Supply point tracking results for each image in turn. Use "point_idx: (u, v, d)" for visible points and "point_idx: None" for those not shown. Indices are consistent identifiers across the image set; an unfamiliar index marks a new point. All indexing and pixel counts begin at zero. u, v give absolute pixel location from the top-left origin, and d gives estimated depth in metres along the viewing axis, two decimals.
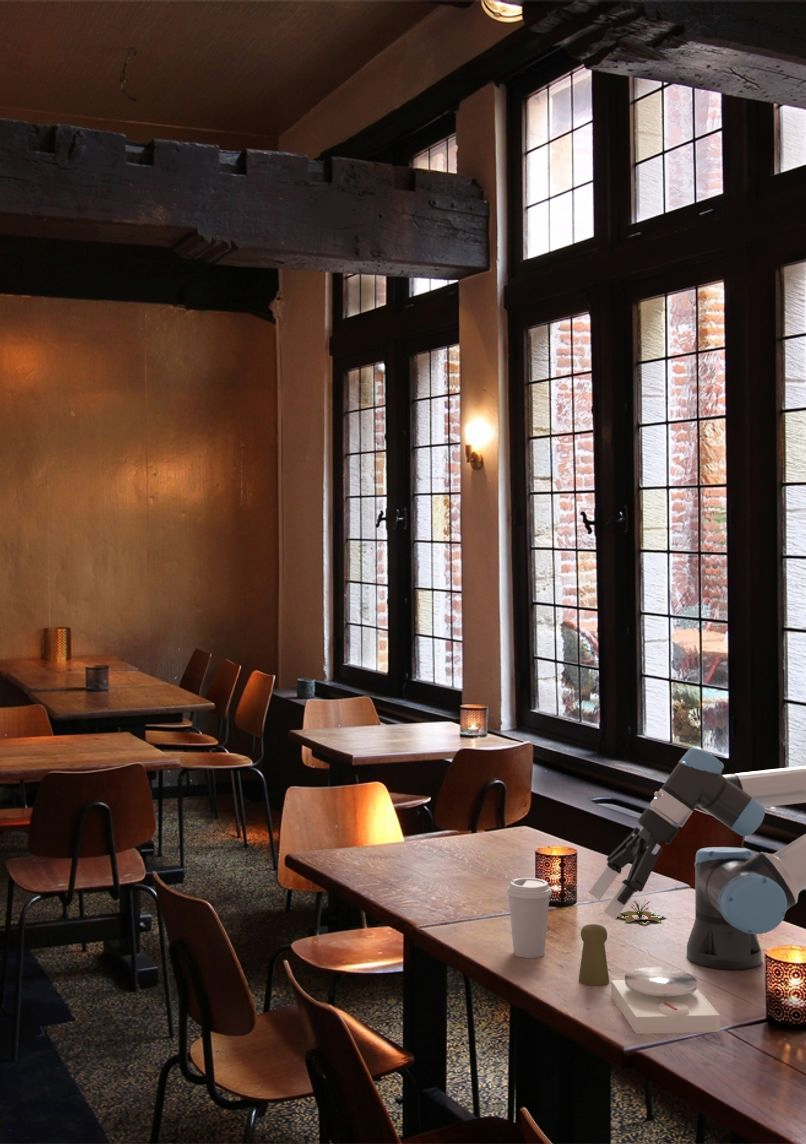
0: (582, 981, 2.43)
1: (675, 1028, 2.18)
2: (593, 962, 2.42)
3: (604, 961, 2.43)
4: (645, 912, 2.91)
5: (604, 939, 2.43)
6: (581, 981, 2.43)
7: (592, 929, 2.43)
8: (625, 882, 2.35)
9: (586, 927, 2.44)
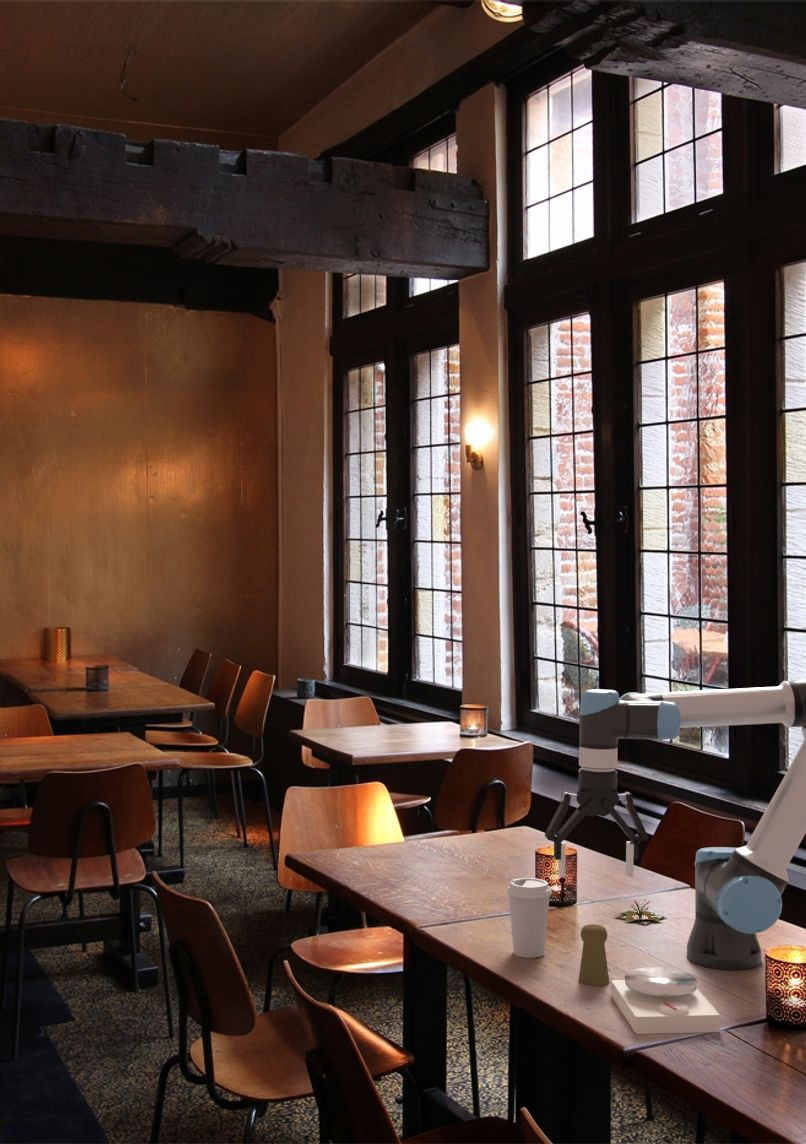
0: (582, 981, 2.43)
1: (675, 1028, 2.18)
2: (593, 962, 2.42)
3: (604, 961, 2.43)
4: (645, 912, 2.91)
5: (604, 939, 2.43)
6: (581, 981, 2.43)
7: (592, 929, 2.43)
8: None
9: (586, 927, 2.44)
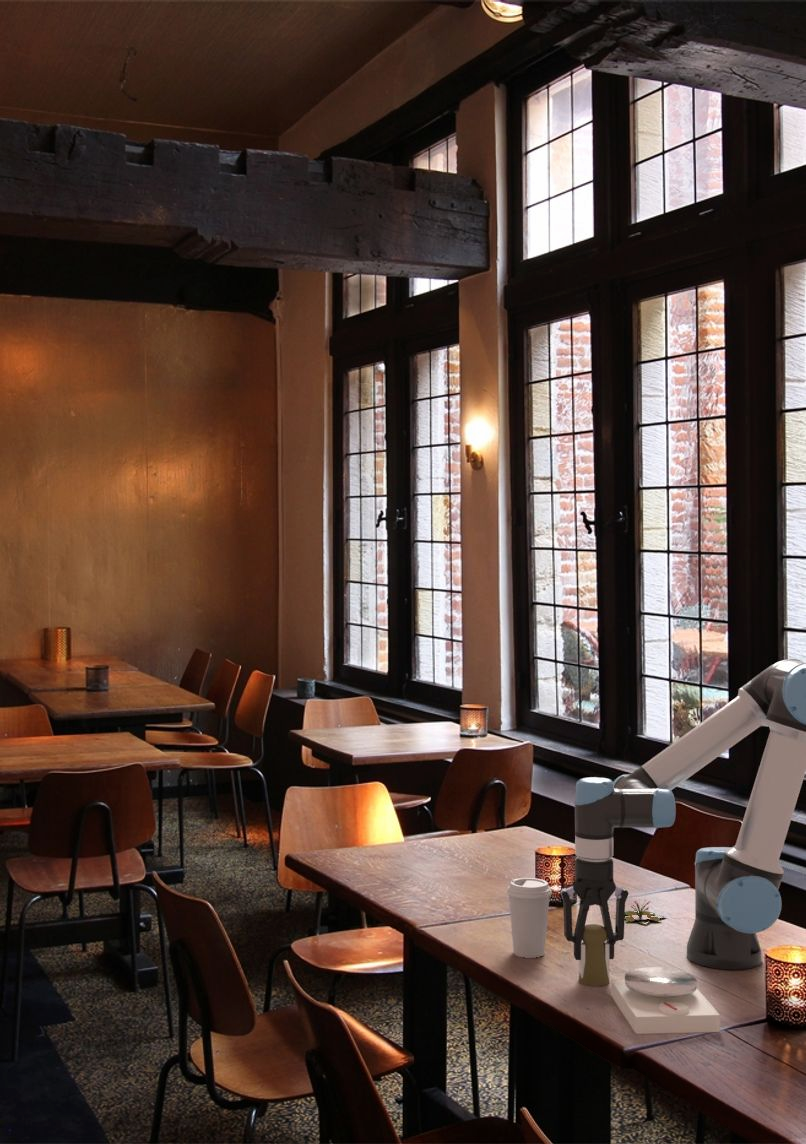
0: (582, 981, 2.43)
1: (675, 1028, 2.18)
2: (593, 962, 2.42)
3: (604, 961, 2.43)
4: (645, 912, 2.91)
5: (604, 939, 2.43)
6: (581, 981, 2.43)
7: (592, 929, 2.43)
8: None
9: (586, 927, 2.44)
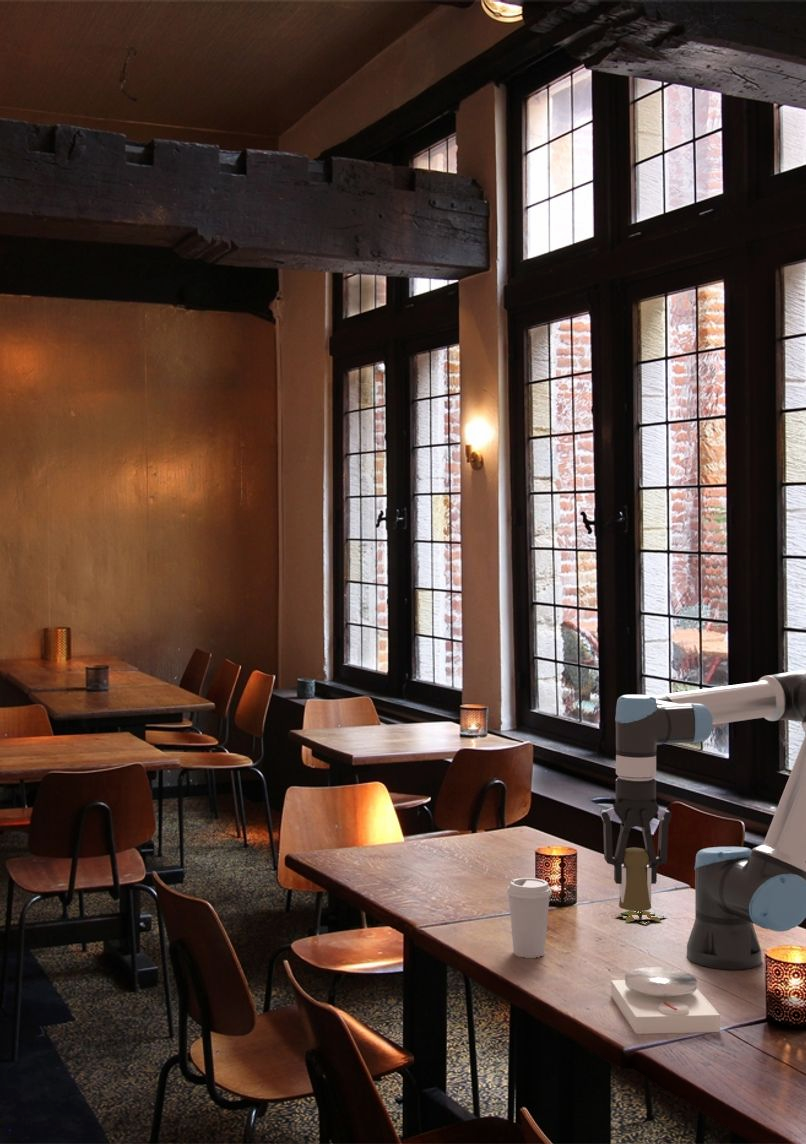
0: (622, 906, 2.33)
1: (675, 1028, 2.18)
2: (634, 886, 2.32)
3: (646, 885, 2.33)
4: (645, 912, 2.91)
5: (646, 862, 2.33)
6: (621, 906, 2.33)
7: (633, 851, 2.33)
8: None
9: (627, 850, 2.34)
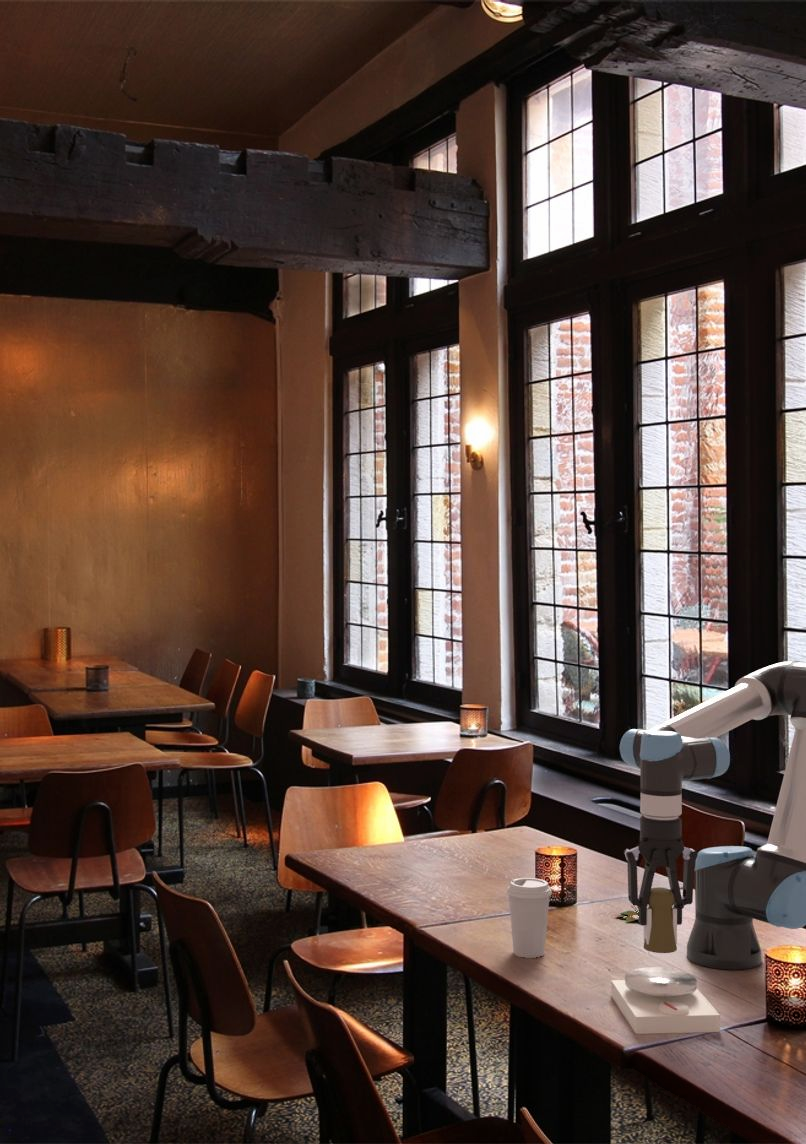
0: (648, 948, 2.28)
1: (675, 1028, 2.18)
2: (660, 927, 2.27)
3: (672, 926, 2.27)
4: None
5: (672, 903, 2.27)
6: (647, 948, 2.28)
7: (659, 892, 2.27)
8: None
9: (652, 890, 2.29)
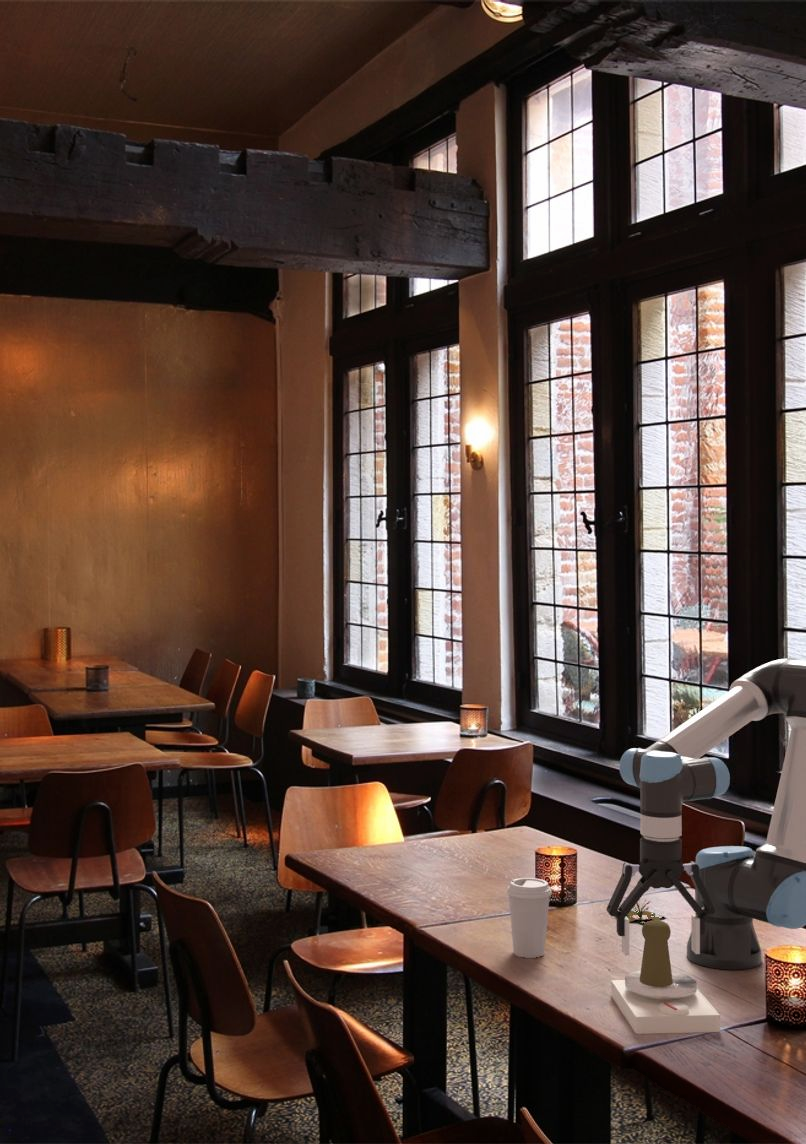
0: (644, 981, 2.28)
1: (675, 1028, 2.18)
2: (656, 961, 2.27)
3: (667, 960, 2.27)
4: (645, 912, 2.91)
5: (667, 936, 2.27)
6: (643, 981, 2.28)
7: (655, 925, 2.27)
8: None
9: (648, 923, 2.29)
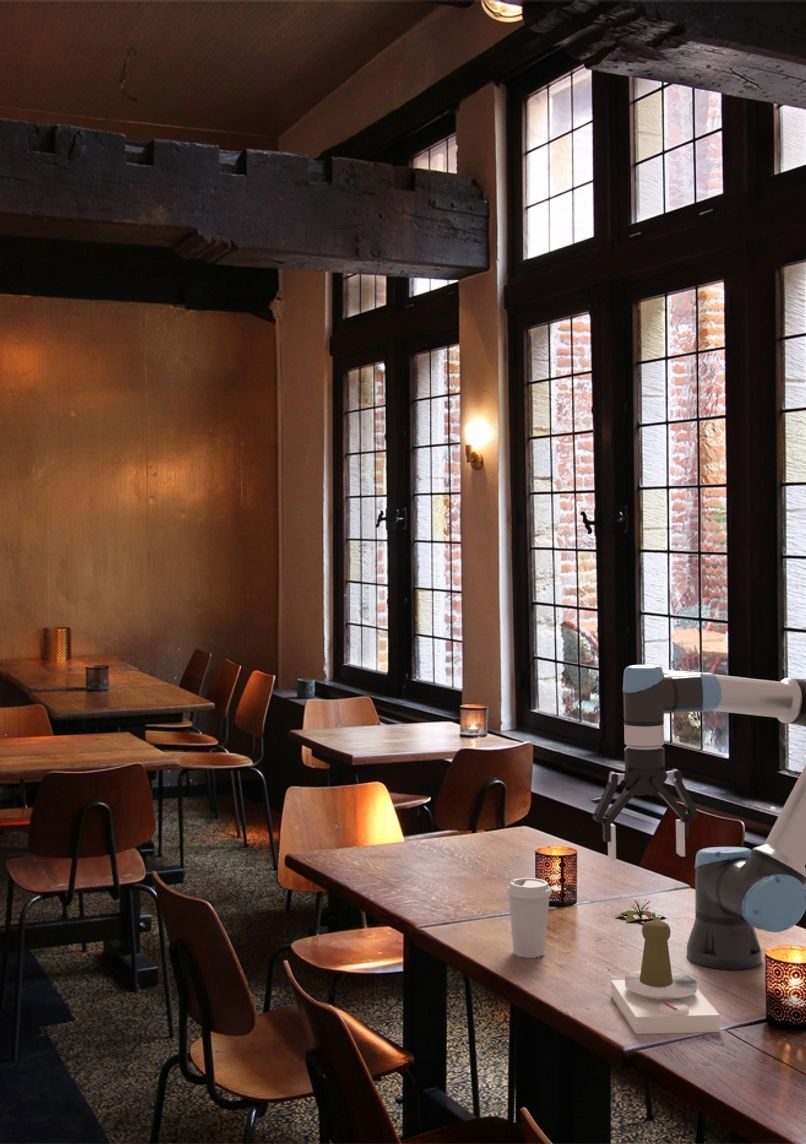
0: (644, 981, 2.28)
1: (675, 1028, 2.18)
2: (656, 961, 2.27)
3: (667, 960, 2.27)
4: (645, 912, 2.91)
5: (667, 936, 2.27)
6: (643, 981, 2.28)
7: (655, 925, 2.27)
8: None
9: (648, 923, 2.29)
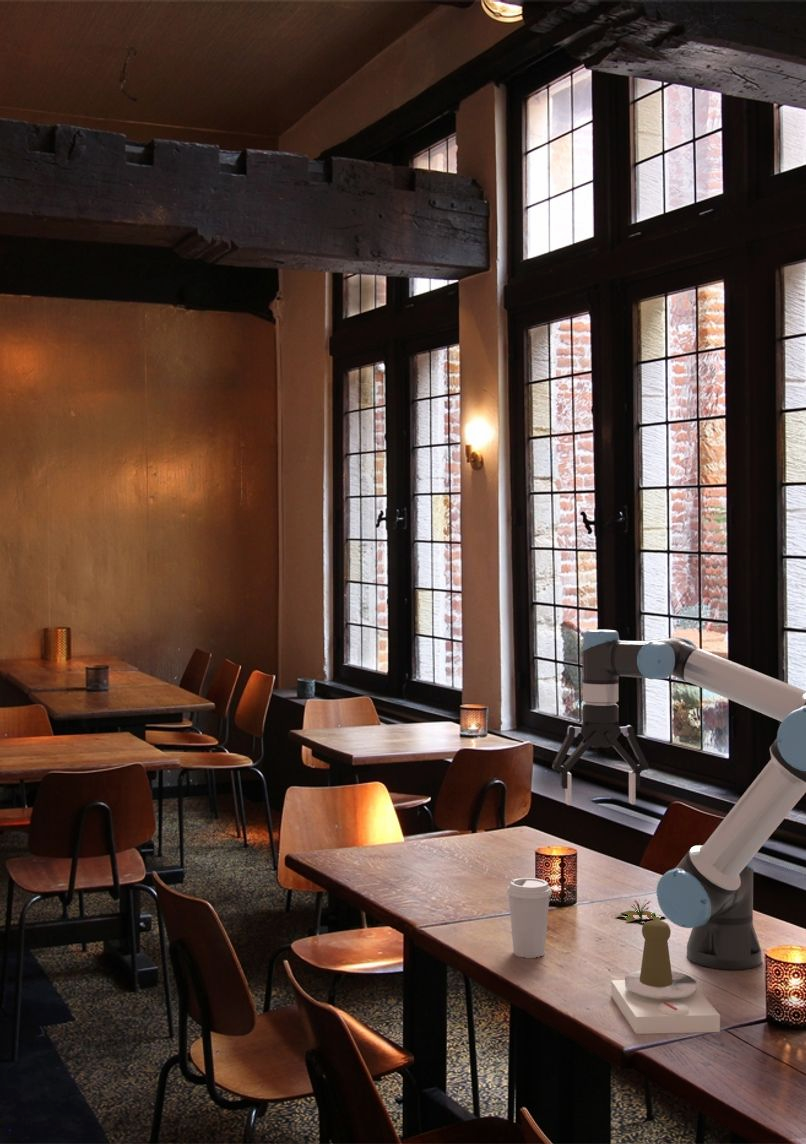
0: (644, 981, 2.28)
1: (675, 1028, 2.18)
2: (656, 961, 2.27)
3: (667, 960, 2.27)
4: (646, 912, 2.91)
5: (667, 936, 2.27)
6: (643, 981, 2.28)
7: (655, 925, 2.27)
8: None
9: (648, 923, 2.29)
